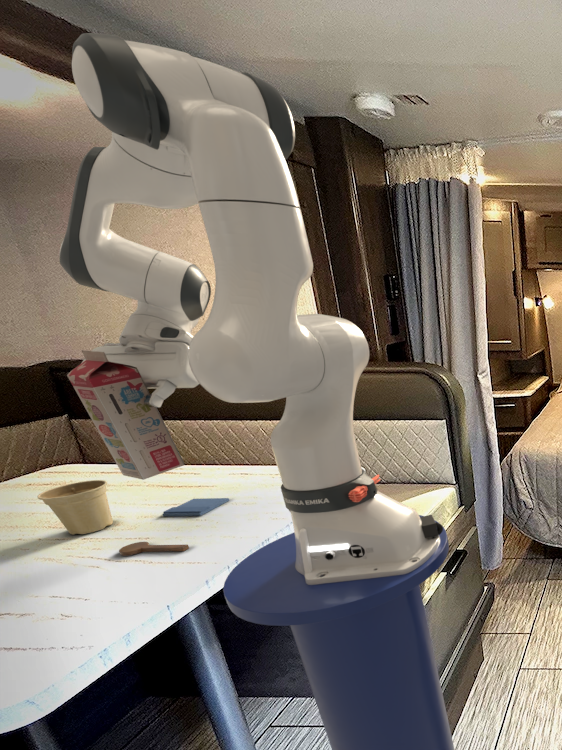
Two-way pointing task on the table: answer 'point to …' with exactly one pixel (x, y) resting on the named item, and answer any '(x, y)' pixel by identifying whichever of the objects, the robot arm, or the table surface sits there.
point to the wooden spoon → (149, 548)
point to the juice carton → (125, 416)
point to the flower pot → (80, 506)
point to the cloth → (195, 507)
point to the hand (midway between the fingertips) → (125, 406)
